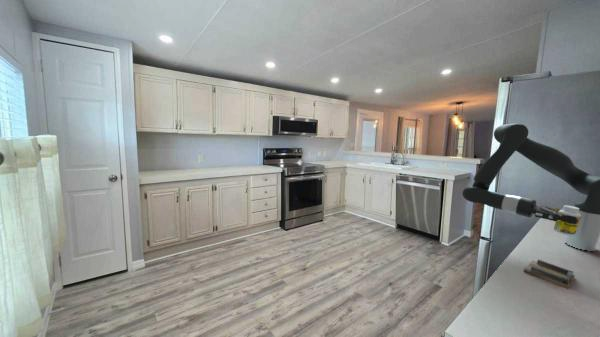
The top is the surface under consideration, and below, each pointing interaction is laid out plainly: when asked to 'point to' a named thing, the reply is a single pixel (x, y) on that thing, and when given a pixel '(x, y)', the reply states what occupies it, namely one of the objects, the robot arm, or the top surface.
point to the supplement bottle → (565, 226)
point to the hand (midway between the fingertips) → (578, 219)
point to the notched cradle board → (550, 273)
